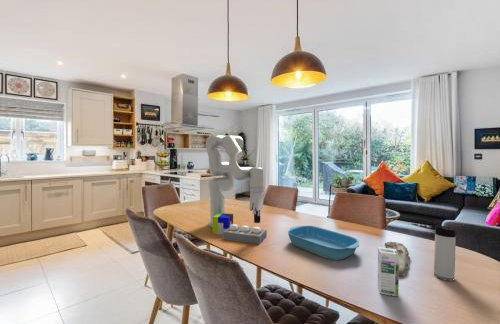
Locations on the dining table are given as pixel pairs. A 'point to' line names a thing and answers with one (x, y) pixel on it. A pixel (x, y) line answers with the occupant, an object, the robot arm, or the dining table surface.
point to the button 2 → (256, 230)
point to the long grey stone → (400, 255)
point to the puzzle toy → (222, 222)
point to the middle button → (245, 228)
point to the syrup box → (388, 271)
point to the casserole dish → (323, 241)
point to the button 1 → (233, 227)
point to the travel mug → (444, 252)
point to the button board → (245, 235)
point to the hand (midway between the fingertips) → (257, 222)
